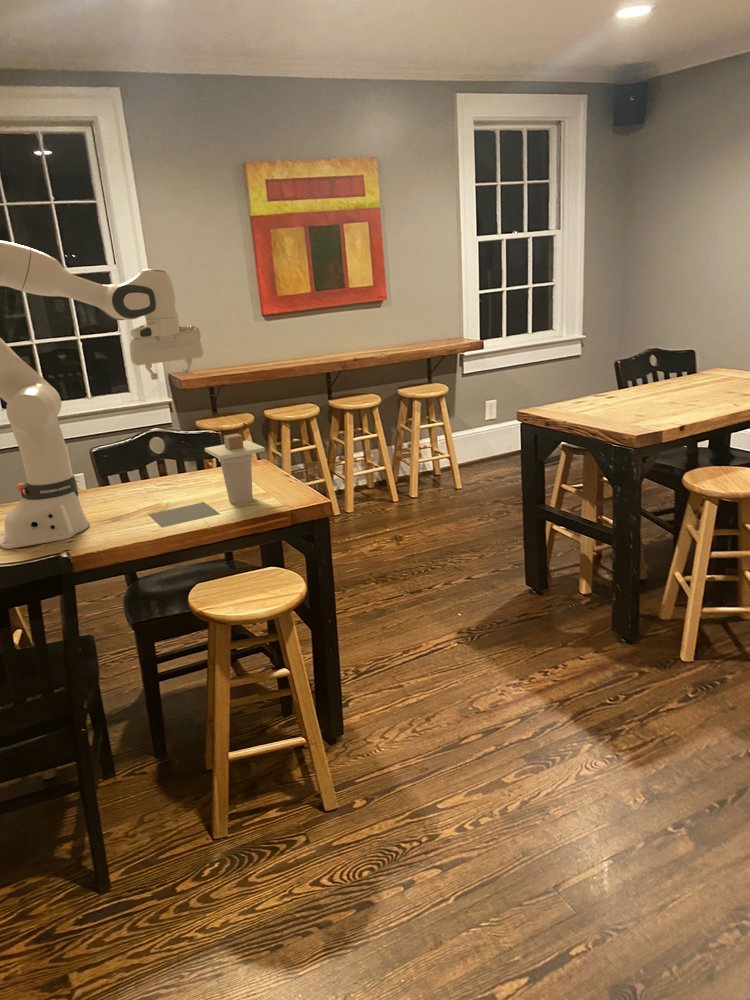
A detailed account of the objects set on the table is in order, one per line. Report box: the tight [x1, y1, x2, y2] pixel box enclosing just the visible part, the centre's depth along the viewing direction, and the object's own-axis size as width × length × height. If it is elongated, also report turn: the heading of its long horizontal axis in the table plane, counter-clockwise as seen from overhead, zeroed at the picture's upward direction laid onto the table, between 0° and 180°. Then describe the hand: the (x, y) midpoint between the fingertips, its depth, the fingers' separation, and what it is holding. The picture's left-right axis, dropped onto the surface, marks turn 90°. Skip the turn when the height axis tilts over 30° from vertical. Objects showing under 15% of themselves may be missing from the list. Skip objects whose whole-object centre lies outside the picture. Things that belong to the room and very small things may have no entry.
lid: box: [204, 432, 266, 460], centre depth 202 cm, size 13×13×4 cm
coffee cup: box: [217, 454, 254, 505], centre depth 205 cm, size 10×10×15 cm
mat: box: [148, 501, 221, 528], centre depth 198 cm, size 16×14×1 cm
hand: (171, 377), depth 210 cm, fingers open, 8 cm apart
